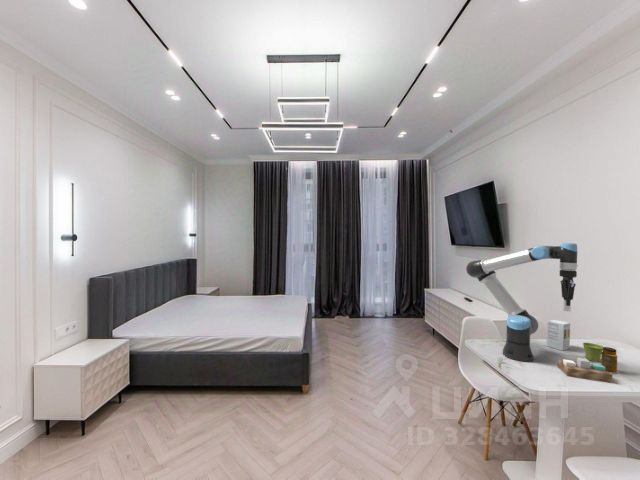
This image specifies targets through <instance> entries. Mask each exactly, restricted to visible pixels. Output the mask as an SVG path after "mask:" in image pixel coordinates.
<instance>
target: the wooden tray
mask: <svg viewBox="0 0 640 480" xmlns="http://www.w3.org/2000/svg"><path fill="white" fill-rule="evenodd" d="M574 362H575V363H576V367H571V366H565V365H564V364H563V359H557V368H558V369H559V370H560V371H561V372H562V373H563V374H564V375H566V377H570V378H571V377H573V378H578V379H586V380H591V381H597V382H603V383H604V382H605V383H609V384H610V383H611V384H612V383H613V374H611V373H609V372H608V371H607V370H605V371H599V370H594V369H593V368H592V367H591V363H590V369H585V368H580V367H578V366H577V361H574Z"/></svg>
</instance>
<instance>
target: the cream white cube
mask: <svg viewBox="0 0 640 480" xmlns="http://www.w3.org/2000/svg"><path fill="white" fill-rule="evenodd" d="M562 360H563V364H564V365H565V366H571V367H576V363H575V362H576V361H573V360H570V359H564V358H563V359H562Z"/></svg>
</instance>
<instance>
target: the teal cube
mask: <svg viewBox="0 0 640 480" xmlns="http://www.w3.org/2000/svg"><path fill="white" fill-rule="evenodd" d="M590 364H591V367H592V368H593V369H594V370H599V371H605V367H604V366H602V365H601V364H600V363H593V362H590Z"/></svg>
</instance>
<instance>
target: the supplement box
mask: <svg viewBox="0 0 640 480" xmlns="http://www.w3.org/2000/svg"><path fill="white" fill-rule="evenodd" d="M546 325H547V326H546V347H549V348H552V349H556V350H560V351H562V352H563V351H565V350H566V351H567V350H569V349H570V341H571V340H570V338H571V323H570V322H568V321H563V320H557V319H551V320H547V323H546Z"/></svg>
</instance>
